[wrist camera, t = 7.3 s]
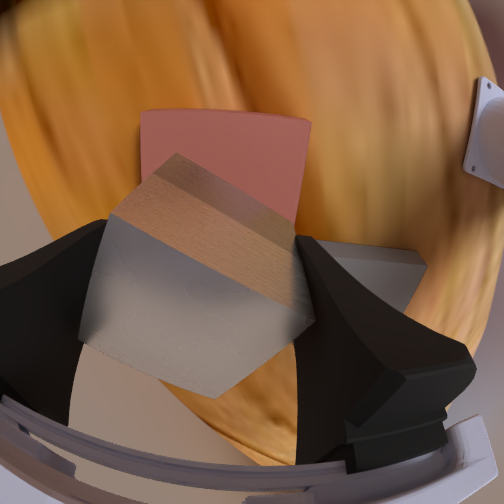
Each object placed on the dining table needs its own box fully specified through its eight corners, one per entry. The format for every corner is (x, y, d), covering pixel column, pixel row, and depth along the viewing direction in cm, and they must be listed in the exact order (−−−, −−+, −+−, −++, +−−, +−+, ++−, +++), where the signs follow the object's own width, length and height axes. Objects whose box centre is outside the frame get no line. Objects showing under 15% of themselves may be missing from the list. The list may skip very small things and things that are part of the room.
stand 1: (305, 118, 14) (311, 122, 13) (283, 249, 19) (286, 266, 18) (153, 109, 14) (140, 112, 12) (157, 238, 19) (148, 253, 17)
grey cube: (292, 222, 10) (315, 321, 6) (225, 302, 13) (214, 399, 8) (176, 152, 9) (110, 212, 5) (128, 252, 11) (77, 339, 7)
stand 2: (416, 251, 19) (427, 265, 17) (378, 328, 24) (384, 343, 22) (313, 239, 19) (319, 255, 17) (290, 327, 24) (292, 344, 22)
